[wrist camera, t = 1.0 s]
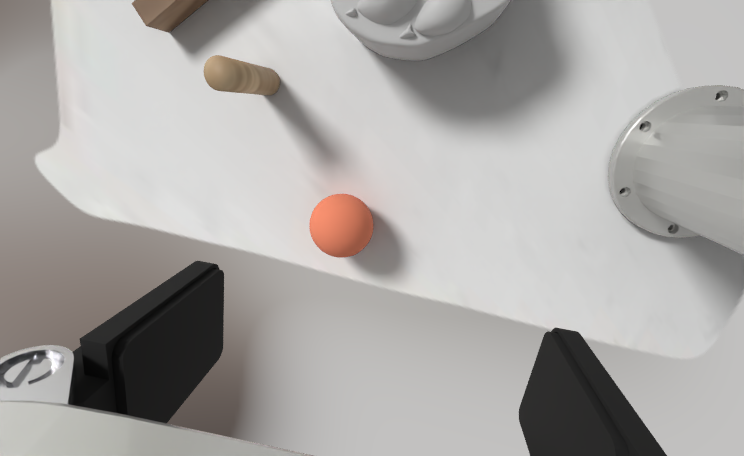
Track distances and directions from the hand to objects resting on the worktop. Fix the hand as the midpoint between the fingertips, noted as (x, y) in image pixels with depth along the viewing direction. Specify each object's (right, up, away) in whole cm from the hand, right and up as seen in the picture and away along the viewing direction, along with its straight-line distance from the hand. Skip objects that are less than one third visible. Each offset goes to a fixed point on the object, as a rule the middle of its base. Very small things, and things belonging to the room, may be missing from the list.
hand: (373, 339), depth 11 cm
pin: (-10, +17, +24) cm, 31 cm away
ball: (-3, +3, +24) cm, 25 cm away
